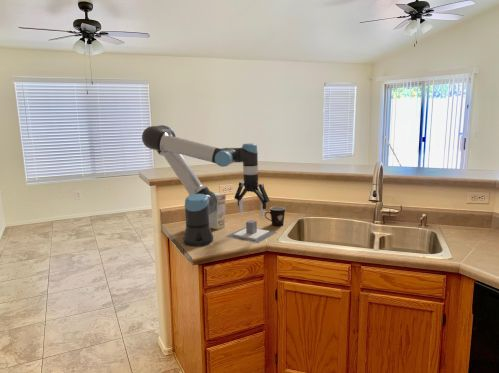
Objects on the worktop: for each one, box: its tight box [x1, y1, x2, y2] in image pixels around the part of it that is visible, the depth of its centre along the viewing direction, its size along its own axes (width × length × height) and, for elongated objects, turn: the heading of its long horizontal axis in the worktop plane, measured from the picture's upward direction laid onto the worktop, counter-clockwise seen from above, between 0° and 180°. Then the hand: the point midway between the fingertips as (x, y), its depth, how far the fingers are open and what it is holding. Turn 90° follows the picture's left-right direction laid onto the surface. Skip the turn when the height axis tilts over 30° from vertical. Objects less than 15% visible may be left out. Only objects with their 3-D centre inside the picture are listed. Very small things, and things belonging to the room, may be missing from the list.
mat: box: [225, 226, 278, 244], centre depth 194 cm, size 20×20×1 cm
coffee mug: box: [264, 206, 286, 227], centre depth 210 cm, size 12×9×10 cm
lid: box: [233, 219, 271, 240], centre depth 194 cm, size 14×14×7 cm
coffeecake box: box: [209, 191, 226, 231], centre depth 209 cm, size 15×7×20 cm, turn 50°
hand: (251, 213), depth 192 cm, fingers open, 13 cm apart
